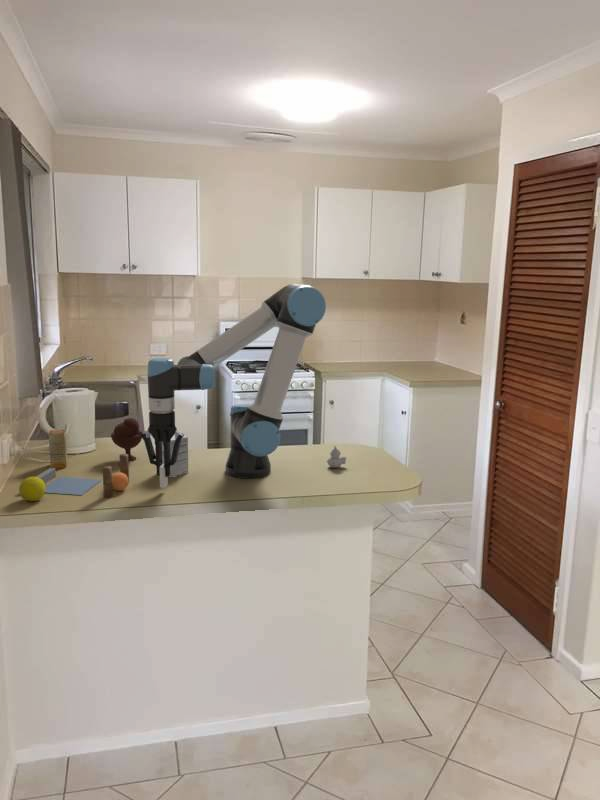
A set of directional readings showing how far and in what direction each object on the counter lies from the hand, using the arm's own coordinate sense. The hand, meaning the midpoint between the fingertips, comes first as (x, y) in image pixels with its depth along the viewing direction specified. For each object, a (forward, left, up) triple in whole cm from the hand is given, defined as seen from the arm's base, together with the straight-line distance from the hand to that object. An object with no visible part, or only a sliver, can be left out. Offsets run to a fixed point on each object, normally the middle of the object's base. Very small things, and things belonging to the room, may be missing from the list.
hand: (163, 486), depth 198 cm
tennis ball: (+35, +13, -2) cm, 37 cm away
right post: (+15, -6, -2) cm, 16 cm away
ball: (+14, +1, +1) cm, 14 cm away
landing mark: (+30, 0, -2) cm, 30 cm away
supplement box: (+3, -18, -2) cm, 18 cm away
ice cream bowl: (+23, -29, -2) cm, 37 cm away
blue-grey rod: (+40, 0, -2) cm, 40 cm away
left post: (+15, +6, -2) cm, 16 cm away
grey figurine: (-50, -34, -2) cm, 61 cm away
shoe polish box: (+43, -18, -2) cm, 47 cm away
